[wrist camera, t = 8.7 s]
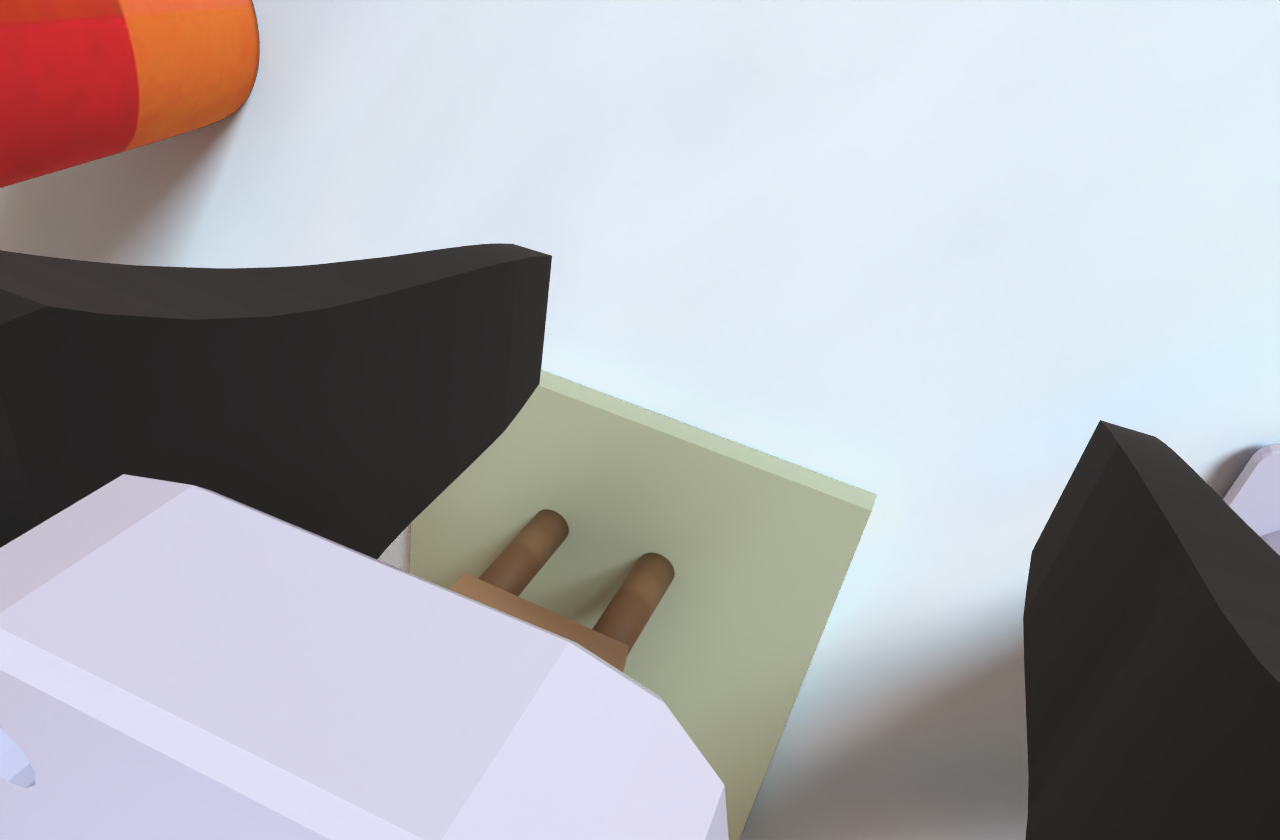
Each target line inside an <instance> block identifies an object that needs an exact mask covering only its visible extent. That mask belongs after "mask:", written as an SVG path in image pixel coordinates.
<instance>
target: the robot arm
mask: <svg viewBox="0 0 1280 840" xmlns="http://www.w3.org/2000/svg"><path fill="white" fill-rule="evenodd" d="M551 260H552V256H551V255H547V254H544V253H541V252H537V251H534V250H531V249H527V248H524V247H521V246H517V245H514V244H481V245H471V246H462V247H454V248H447V249H439V250H432V251H425V252H418V253H411V254H404V255H397V256H390V257H382V258H373V259H364V260H355V261H346V262H337V263H328V264H319V265H307V266H292V267H273V268H237V269H214V268H186V267H159V266H135V265H122V264H110V263H99V262H88V261H78V260H70V259H61V258H52V257H44V256H36V255H28V254H21V253H14V252H7V251H1V250H0V840H729V837H728V824H727V811H726V798H725V785H724V784H723V782H722V781H721V780H720V778H719V777H718V775H717V774H716V773H715V771H714V770H713V769H712V767H711V766H710V764H709V763H708V762H707V760H706V759H705V758H704V756H703V755H702V754H701V752H700V751H699V749H698V748H697V747H696V745H695V744H694V743H693V741H692V740H691V738H690V737H689V736H688V734H687V733H686V732H685V730H684V729H683V728H682V726H681V725H680V723H679V722H678V721H677V719H676V718H675V717H674V715H673V714H672V712H671V711H670V710H669V708H668V707H667V706H666V704H665V703H664V702H663V700H662V699H661V697H660V696H659V695H657V694H656V693H654V692H652V691H651V690H649V689H648V688H646V687H645V686H643V685H642V684H640V683H638V682H637V681H635V680H634V679H632V678H631V677H629V676H627V675H626V674H624V673H623V672H621V671H620V670H618V669H617V668H615V667H613V666H612V665H610V664H609V663H607V662H606V661H604V660H603V659H601V658H599V657H598V656H596V655H595V654H593V653H592V652H590V651H589V650H587V649H585V648H584V647H582V646H581V645H579V644H578V643H576V642H574V641H571V640H569V639H566V638H564V637H562V636H559V635H557V634H554V633H552V632H550V631H547V630H545V629H542V628H540V627H538V626H535V625H533V624H530V623H528V622H526V621H523V620H521V619H518V618H516V617H514V616H511V615H509V614H506V613H504V612H501V611H499V610H497V609H494V608H492V607H489V606H487V605H485V604H482V603H480V602H477V601H475V600H473V599H470V598H468V597H465V596H463V595H461V594H458V593H456V592H453V591H451V590H449V589H446V588H444V587H441V586H439V585H437V584H434V583H432V582H429V581H427V580H425V579H422V578H420V577H417V576H415V575H413V574H410V573H408V572H405V571H403V570H401V569H398V568H396V567H393V566H391V565H389V564H386V563H384V562H381V561H379V560H377V559H378V558H379V557H380V556H381V554H382V553H383V552H384V551H385V549H386V548H387V547H388V546H389V545H390V544H391V543H392V542H393V541H394V540H395V539H396V538H397V537H398V535H399V534H400V533H401V532H402V531H403V530H404V529H405V528H406V527H407V526H408V525H409V524H410V523H411V522H412V521H413V520H414V519H415V518H416V517H417V516H418V515H419V514H420V513H421V512H422V511H423V510H425V509H426V508H427V507H428V506H429V505H430V504H431V503H432V502H433V501H434V500H435V499H436V498H437V497H438V496H439V495H440V494H441V493H442V492H443V491H444V490H445V489H446V488H447V487H448V486H449V485H450V484H452V483H453V482H454V481H455V480H456V479H457V478H458V477H459V476H460V475H461V474H462V473H463V472H464V471H465V470H466V469H467V468H468V467H469V466H470V465H471V464H472V463H473V462H474V461H475V460H476V459H477V458H478V457H479V456H480V455H481V454H482V453H483V452H484V451H485V450H486V449H487V448H488V447H489V446H490V445H491V444H492V443H494V441H495V440H496V439H497V438H498V437H499V436H500V435H501V434H502V433H503V432H504V431H505V430H506V429H507V427H508V426H509V425H510V424H511V422H512V421H513V420H514V418H515V417H516V416H517V414H518V413H519V412H520V411H521V409H522V408H523V406H524V405H525V404H526V402H527V401H528V399H529V398H530V396H531V395H532V394H533V392H534V391H535V389H536V388H537V387H538V385H539V384H540V374H541V363H542V353H543V343H544V332H545V322H546V312H547V301H548V291H549V281H550V270H551ZM1023 626H1024V665H1025V692H1026V718H1027V744H1028V771H1029V787H1028V819H1027V831H1026V840H1280V443H1278V444H1270V445H1267V446H1265V447H1263V448H1260V449H1259V450H1258V451H1257V452H1256V453H1255V454H1254V455H1253V456H1252V457H1251V459H1250V460H1249V461H1248V463H1247V464H1246V466H1245V467H1244V469H1243V470H1242V472H1241V473H1240V475H1239V476H1238V478H1237V479H1236V481H1235V482H1234V484H1233V485H1232V487H1231V488H1230V490H1229V491H1228V492H1227V494H1226V495H1225V497H1224V498H1223V499H1222V498H1221V497H1220V496H1219V495H1218V494H1217V493H1216V492H1215V491H1214V490H1213V489H1212V488H1211V487H1210V486H1209V485H1208V484H1207V483H1206V482H1205V481H1204V480H1203V479H1202V478H1201V477H1200V476H1199V475H1198V474H1197V473H1196V472H1195V471H1194V470H1193V469H1192V468H1191V467H1190V466H1189V465H1188V464H1187V463H1186V462H1185V461H1184V460H1183V459H1181V458H1180V457H1179V456H1178V455H1177V454H1176V453H1175V452H1174V451H1173V450H1172V449H1171V448H1169V447H1168V446H1167V445H1166V444H1165V443H1163V442H1162V441H1161V440H1159V439H1158V438H1156V437H1154V436H1151V435H1147V434H1144V433H1141V432H1137V431H1134V430H1131V429H1127V428H1124V427H1121V426H1117V425H1114V424H1111V423H1107V422H1104V421H1101V420H1100V422H1099V424H1098V425H1097V427H1096V429H1095V431H1094V433H1093V435H1092V437H1091V439H1090V441H1089V443H1088V445H1087V447H1086V449H1085V450H1084V452H1083V454H1082V456H1081V458H1080V460H1079V462H1078V464H1077V466H1076V468H1075V470H1074V472H1073V474H1072V476H1071V477H1070V479H1069V481H1068V483H1067V485H1066V487H1065V489H1064V491H1063V493H1062V495H1061V497H1060V499H1059V501H1058V503H1057V504H1056V506H1055V508H1054V510H1053V512H1052V514H1051V516H1050V518H1049V520H1048V522H1047V524H1046V526H1045V528H1044V530H1043V531H1042V533H1041V535H1040V537H1039V539H1038V541H1037V543H1036V545H1035V547H1034V549H1033V551H1032V555H1031V562H1030V569H1029V576H1028V583H1027V591H1026V599H1025V608H1024V617H1023Z"/></svg>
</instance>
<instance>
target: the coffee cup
mask: <svg viewBox="0 0 1280 840" xmlns="http://www.w3.org/2000/svg"><path fill="white" fill-rule="evenodd" d="M258 64H259V31H258V24H257V18H256V13H255V9H254V5H253V2H252V0H0V188H1V187H5V186H8V185H11V184H15V183H18V182H22V181H25V180H28V179H32V178H35V177H39V176H42V175H45V174H49V173H52V172H56V171H59V170H63V169H66V168H69V167H73V166H76V165H80V164H83V163H86V162H90V161H93V160H97V159H100V158H103V157H107V156H110V155H113V154H117V153H120V152H123V151H127V150H130V149H133V148H137V147H140V146H143V145H147V144H150V143H153V142H157V141H160V140H163V139H166V138H170V137H173V136H176V135H179V134H182V133H185V132H188V131H191V130H195V129H198V128H201V127H204V126H206V125H209V124H212V123H214V122H217V121H220V120H222V119H224V118H226V117H228V116H230V115H231V114H233V113H234V112H236V111H237V110H238V109H239V108H240V107H241V106H242V105H243V103H244V102H245V101H246V99H247V98H248V96H249V94H250V92H251V90H252V88H253V85H254V82H255V79H256V75H257V71H258Z"/></svg>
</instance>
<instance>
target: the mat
mask: <svg viewBox="0 0 1280 840" xmlns="http://www.w3.org/2000/svg"><path fill="white" fill-rule="evenodd" d="M875 498H876V495H875V494H873V493H870V492H867V491H864V490H862V489H859V488H856V487H854V486H851V485H848V484H846V483H843V482H840V481H838V480H835V479H832V478H829V477H827V476H824V475H821V474H819V473H816V472H813V471H811V470H808V469H805V468H803V467H800V466H797V465H795V464H792V463H789V462H786V461H784V460H781V459H778V458H776V457H773V456H770V455H768V454H765V453H762V452H760V451H757V450H754V449H752V448H749V447H746V446H743V445H741V444H738V443H735V442H733V441H730V440H727V439H725V438H722V437H719V436H717V435H714V434H711V433H708V432H706V431H703V430H700V429H698V428H695V427H692V426H690V425H687V424H684V423H682V422H679V421H676V420H674V419H671V418H668V417H665V416H663V415H660V414H657V413H655V412H652V411H649V410H647V409H644V408H641V407H639V406H636V405H633V404H631V403H628V402H625V401H622V400H620V399H617V398H614V397H612V396H609V395H606V394H604V393H601V392H598V391H596V390H593V389H590V388H587V387H585V386H582V385H579V384H577V383H574V382H571V381H569V380H566V379H563V378H561V377H558V376H555V375H553V374H550V373H547V372H544V371H542V370H541V374H540V384H539V385H538V387H537V388H536V389H535V391H534V392H533V394H532V395H531V396H530V398H529V399H528V401H527V402H526V404H525V405H524V406H523V408H522V409H521V411H520V412H519V413H518V414H517V416H516V417H515V418H514V420H513V421H512V422H511V424H510V425H509V426H508V427H507V429H506V430H505V431H504V432H503V433H502V434H501V435H500V436H499V437H498V438H497V439H496V440H495V441H494V443H492V444H491V445H490V446H489V447H488V448H487V449H486V450H485V451H484V452H483V453H482V454H481V455H480V456H479V457H478V458H477V459H476V460H475V461H474V462H473V463H472V464H471V465H470V466H469V467H468V468H467V469H466V470H465V471H464V472H463V473H462V474H461V475H460V476H459V477H458V478H457V479H456V480H455V481H454V482H453V483H452V484H450V485H449V486H448V487H447V488H446V489H445V490H444V491H443V492H442V493H441V494H440V495H439V496H438V497H437V498H436V499H435V500H434V501H433V502H432V503H431V504H430V505H429V506H428V507H427V508H426V509H425V510H423V511H422V512H421V513H420V514H419V515H418V516H417V517H416V518H415V519H414V520H413V521H412V522H411V537H410V565H409V573H410V574H413V575H415V576H417V577H420V578H422V579H425V580H427V581H429V582H432V583H434V584H437V585H439V586H441V587H444V588H446V589H450V588H451V587H452V586H453V584H454V583H455V582H456V581H457V580H458V579H459V578H460V577H461V576H462V575H463V574H464V573H466V574H469V575H471V576H473V577H475V578H479V577H480V576H481V575H482V574H483V573H484V571H485V570H486V569H487V568H488V567H489V566H490V565H491V564H492V563H493V562H494V560H495V559H496V558H497V557H498V556H499V555H500V554H501V553H502V552H503V551H504V549H505V548H506V547H507V546H508V545H509V544H510V543H511V542H512V541H513V540H514V538H515V537H516V536H517V535H518V534H519V533H520V532H521V531H522V530H523V529H524V527H525V526H526V525H527V524H528V523H529V522H530V521H531V520H532V519H533V518H534V516H535V515H536V514H537V513H538V512H539V511H541V510H544V509H549V510H553V511H555V512H557V513H559V514H560V515H561V516H562V517H563V518H564V519H565V520H566V522H567V524H568V527H569V534H568V536H567V538H566V539H565V540H564V541H563V543H562V544H561V545H560V546H559V548H558V549H557V550H556V551H555V552H554V554H553V555H552V556H551V557H550V558H549V560H548V561H547V562H546V563H545V565H544V566H543V567H542V568H541V569H540V571H539V572H538V573H537V574H536V576H535V577H534V578H533V579H532V580H531V582H530V583H529V584H528V585H527V587H526V588H525V589H524V590H523V591H522V593H521V594H520V595H519V596H518V597H520V598H523V599H525V600H527V601H529V602H532V603H534V604H536V605H538V606H541V607H543V608H545V609H547V610H550V611H552V612H554V613H556V614H559V615H561V616H563V617H565V618H568V619H570V620H572V621H574V622H577V623H579V624H581V625H583V626H586V627H588V628H590V629H592V628H593V627H594V625H595V624H596V622H597V621H598V619H599V618H600V616H601V615H602V613H603V612H604V611H605V609H606V608H607V606H608V605H609V603H610V602H611V600H612V599H613V597H614V596H615V594H616V593H617V591H618V590H619V588H620V587H621V585H622V584H623V582H624V581H625V579H626V578H627V576H628V575H629V573H630V572H631V570H632V569H633V567H634V566H635V564H636V563H637V561H638V560H639V558H640V557H641V556H642V555H644V554H646V553H657V554H660V555H662V556H664V557H665V558H667V559H668V560H669V561H670V563H671V564H672V566H673V568H674V572H675V575H674V579H673V580H672V582H671V584H670V585H669V587H668V589H667V590H666V592H665V594H664V596H663V597H662V599H661V601H660V602H659V604H658V606H657V607H656V609H655V611H654V612H653V614H652V616H651V617H650V619H649V621H648V622H647V624H646V626H645V627H644V629H643V631H642V632H641V634H640V636H639V637H638V639H637V641H636V642H635V644H634V646H633V647H632V649H631V651H630V653H629V654H628V656H627V659H626V663H625V668H624V672H623V673H624V674H626V675H627V676H629V677H631V678H632V679H634V680H635V681H637V682H638V683H640V684H642V685H643V686H645V687H646V688H648V689H649V690H651V691H652V692H654V693H656V694H657V695H659V696H660V697H661V699H662V700H663V702H664V703H665V704H666V706H667V707H668V708H669V710H670V711H671V712H672V714H673V715H674V717H675V718H676V719H677V721H678V722H679V723H680V725H681V726H682V728H683V729H684V730H685V732H686V733H687V734H688V736H689V737H690V738H691V740H692V741H693V743H694V744H695V745H696V747H697V748H698V749H699V751H700V752H701V754H702V755H703V756H704V758H705V759H706V760H707V762H708V763H709V764H710V766H711V767H712V769H713V770H714V771H715V773H716V774H717V775H718V777H719V778H720V780H721V781H722V782H723V784H724V785H725V798H726V811H727V824H728V837H729V840H739V838H740V836H741V834H742V831H743V829H744V826H745V824H746V821H747V819H748V816H749V814H750V811H751V809H752V806H753V804H754V801H755V799H756V796H757V794H758V791H759V789H760V786H761V784H762V781H763V779H764V776H765V774H766V771H767V769H768V767H769V764H770V762H771V759H772V757H773V754H774V752H775V749H776V747H777V744H778V742H779V739H780V737H781V734H782V732H783V729H784V727H785V724H786V722H787V719H788V717H789V714H790V712H791V709H792V707H793V704H794V702H795V700H796V697H797V695H798V692H799V690H800V687H801V685H802V682H803V680H804V677H805V675H806V672H807V670H808V667H809V665H810V662H811V660H812V657H813V655H814V652H815V650H816V647H817V645H818V642H819V640H820V637H821V635H822V632H823V630H824V628H825V625H826V623H827V620H828V618H829V615H830V613H831V610H832V608H833V605H834V603H835V600H836V598H837V595H838V593H839V590H840V588H841V585H842V583H843V580H844V578H845V575H846V573H847V570H848V568H849V565H850V563H851V561H852V558H853V556H854V553H855V551H856V548H857V546H858V543H859V541H860V538H861V536H862V533H863V531H864V528H865V526H866V523H867V521H868V518H869V516H870V513H871V511H872V508H873V505H874V501H875Z"/></svg>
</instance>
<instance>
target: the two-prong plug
mask: <svg viewBox="0 0 1280 840" xmlns="http://www.w3.org/2000/svg"><path fill="white" fill-rule="evenodd" d="M568 534H569V527H568V524H567V522H566V520H565V519H564V518H563V517H562V516H561V515H560V514H559V513H557V512H555V511H553V510H549V509H544V510H541V511H539V512H538V513H537V514H536V515H535V516H534V518H533V519H532V520H531V521H530V522H529V523H528V524H527V525H526V526H525V527H524V529H523V530H522V531H521V532H520V533H519V534H518V535H517V536H516V537H515V538H514V540H513V541H512V542H511V543H510V544H509V545H508V546H507V547H506V548H505V549H504V551H503V552H502V553H501V554H500V555H499V556H498V557H497V558H496V559H495V560H494V562H493V563H492V564H491V565H490V566H489V567H488V568H487V569H486V570H485V571H484V573H483V574H482V575H481V576H480V577H479V578H475V577H473V576H471V575H469V574H466V573H464V574H463V575H462V576H461V577H460V578H459V579H458V580H457V581H456V582H455V583H454V584H453V586H452V587H451V588H450V589H449V590H451V591H453V592H456V593H458V594H461V595H463V596H465V597H468V598H470V599H473V600H475V601H477V602H480V603H482V604H485V605H487V606H489V607H492V608H494V609H497V610H499V611H501V612H504V613H506V614H509V615H511V616H514V617H516V618H518V619H521V620H523V621H526V622H528V623H530V624H533V625H535V626H538V627H540V628H542V629H545V630H547V631H550V632H552V633H554V634H557V635H559V636H562V637H564V638H566V639H569V640H571V641H574V642H576V643H578V644H579V645H581V646H582V647H584V648H585V649H587V650H589V651H590V652H592V653H593V654H595V655H596V656H598V657H599V658H601V659H603V660H604V661H606V662H607V663H609V664H610V665H612V666H613V667H615V668H617V669H618V670H620V671H621V672H624V668H625V663H626V659H627V656H628V654H629V653H630V651H631V649H632V647H633V646H634V644H635V642H636V641H637V639H638V637H639V636H640V634H641V632H642V631H643V629H644V627H645V626H646V624H647V622H648V621H649V619H650V617H651V616H652V614H653V612H654V611H655V609H656V607H657V606H658V604H659V602H660V601H661V599H662V597H663V596H664V594H665V592H666V590H667V589H668V587H669V585H670V584H671V582H672V580H673V579H674V575H675V572H674V568H673V566H672V564H671V563H670V561H669V560H668V559H667V558H665V557H664V556H662V555H660V554H657V553H646V554H644V555H642V556H641V557H640V558H639V560H638V561H637V563H636V564H635V566H634V567H633V569H632V570H631V572H630V573H629V575H628V576H627V578H626V579H625V581H624V582H623V584H622V585H621V587H620V588H619V590H618V591H617V593H616V594H615V596H614V597H613V599H612V600H611V602H610V603H609V605H608V606H607V608H606V609H605V611H604V612H603V613H602V615H601V616H600V618H599V619H598V621H597V622H596V624H595V625H594V627H593V628H592V629H590V628H588V627H586V626H583V625H581V624H579V623H577V622H574V621H572V620H570V619H568V618H565V617H563V616H561V615H559V614H556V613H554V612H552V611H550V610H547V609H545V608H543V607H541V606H538V605H536V604H534V603H532V602H529V601H527V600H525V599H523V598H520V597H518V596H519V595H520V594H521V593H522V591H523V590H524V589H525V588H526V587H527V585H528V584H529V583H530V582H531V580H532V579H533V578H534V577H535V576H536V574H537V573H538V572H539V571H540V569H541V568H542V567H543V566H544V565H545V563H546V562H547V561H548V560H549V558H550V557H551V556H552V555H553V554H554V552H555V551H556V550H557V549H558V548H559V546H560V545H561V544H562V543H563V541H564V540H565V539H566V538H567V536H568Z"/></svg>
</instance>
